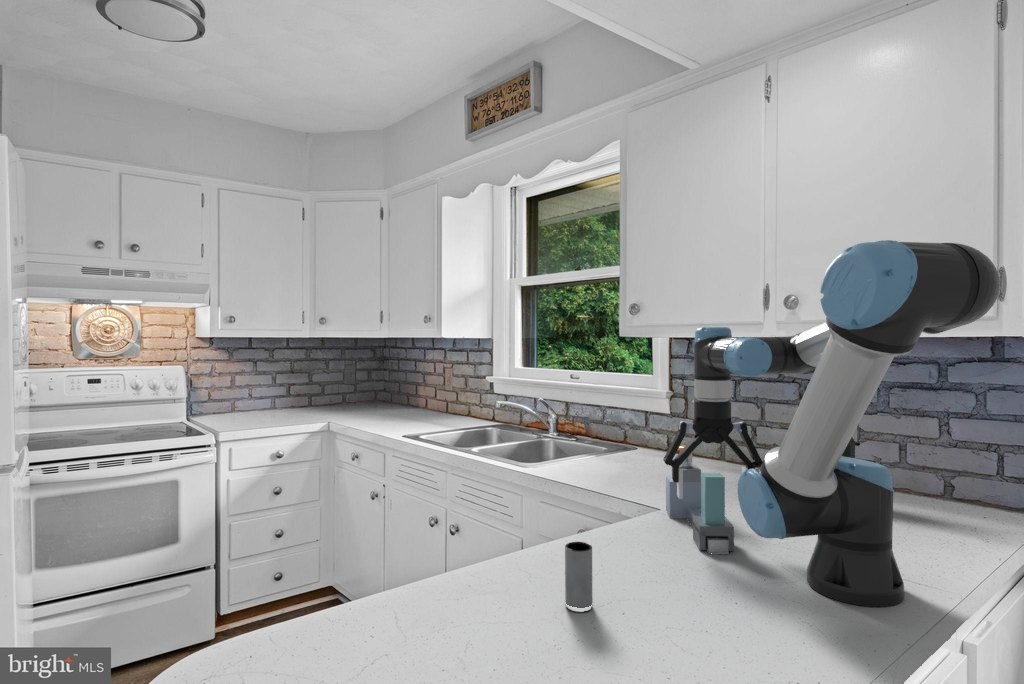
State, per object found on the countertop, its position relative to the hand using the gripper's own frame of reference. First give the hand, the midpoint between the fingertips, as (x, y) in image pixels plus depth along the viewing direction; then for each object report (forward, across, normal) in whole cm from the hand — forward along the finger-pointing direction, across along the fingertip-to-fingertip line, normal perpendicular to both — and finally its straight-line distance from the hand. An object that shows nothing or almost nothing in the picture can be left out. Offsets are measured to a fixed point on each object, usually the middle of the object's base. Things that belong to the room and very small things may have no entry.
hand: (712, 498), depth 131 cm
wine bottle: (+11, -40, -35) cm, 54 cm away
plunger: (+1, +1, -22) cm, 22 cm away
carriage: (+10, 0, 0) cm, 10 cm away
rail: (+10, 0, -6) cm, 12 cm away
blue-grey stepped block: (+10, +1, -22) cm, 24 cm away
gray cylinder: (+10, +29, +31) cm, 44 cm away
